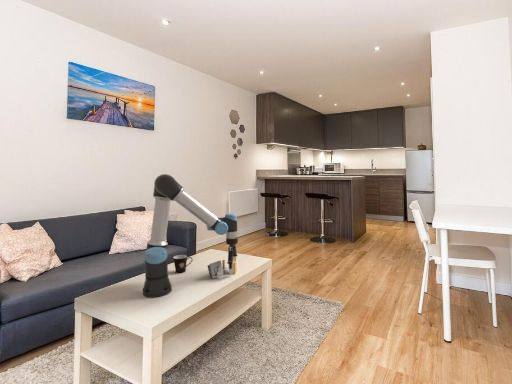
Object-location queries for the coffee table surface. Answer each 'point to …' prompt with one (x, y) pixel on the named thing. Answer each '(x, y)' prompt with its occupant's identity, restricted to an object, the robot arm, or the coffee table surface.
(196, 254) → the coffee table surface
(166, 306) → the coffee table surface
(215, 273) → the electrical switch
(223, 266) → the brass peg
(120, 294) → the coffee table surface
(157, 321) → the coffee table surface
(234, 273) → the yellow upright square block
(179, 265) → the coffee mug
